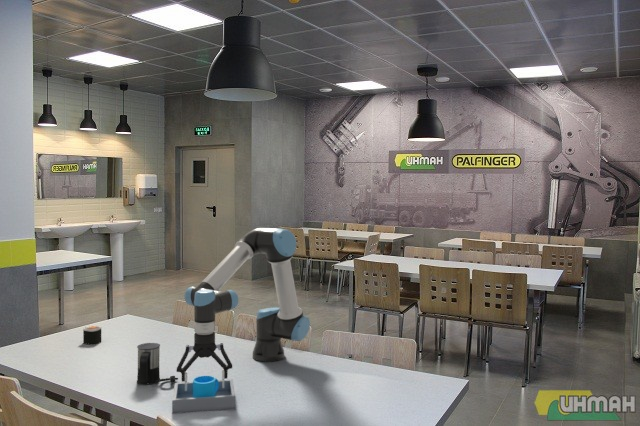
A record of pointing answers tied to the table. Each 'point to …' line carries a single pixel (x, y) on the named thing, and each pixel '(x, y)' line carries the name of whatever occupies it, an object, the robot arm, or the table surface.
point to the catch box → (203, 398)
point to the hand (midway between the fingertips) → (204, 388)
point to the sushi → (92, 335)
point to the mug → (204, 386)
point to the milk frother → (149, 364)
